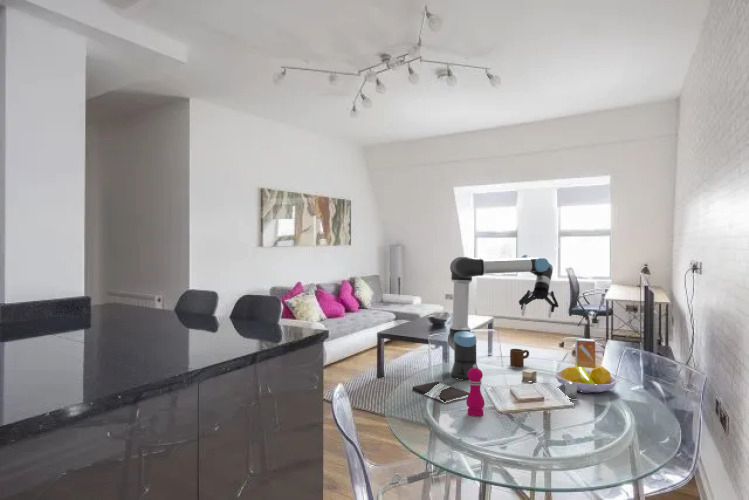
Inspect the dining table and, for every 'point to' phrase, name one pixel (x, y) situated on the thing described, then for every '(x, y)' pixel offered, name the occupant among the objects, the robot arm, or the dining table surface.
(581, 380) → the fruit bowl
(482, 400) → the pepper mill
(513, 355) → the mug
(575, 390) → the grey metal tin
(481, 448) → the dining table surface
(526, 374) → the birch block
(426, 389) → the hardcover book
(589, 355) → the small box
